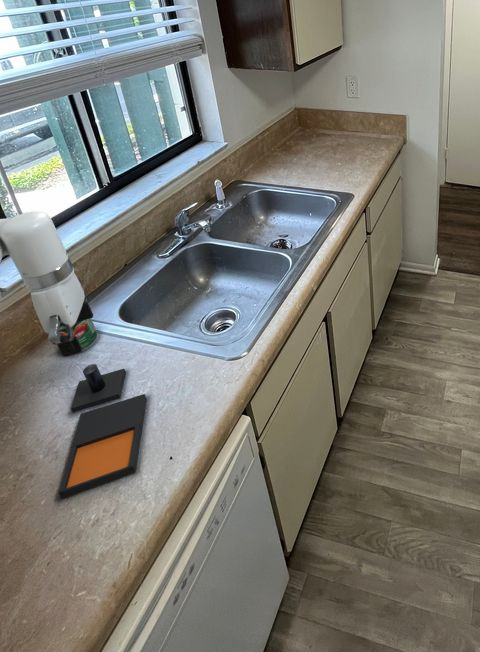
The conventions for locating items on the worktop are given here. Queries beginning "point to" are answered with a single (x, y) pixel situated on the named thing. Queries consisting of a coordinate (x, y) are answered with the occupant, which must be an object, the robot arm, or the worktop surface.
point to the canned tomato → (83, 333)
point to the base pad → (104, 445)
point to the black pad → (101, 396)
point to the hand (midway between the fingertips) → (79, 335)
